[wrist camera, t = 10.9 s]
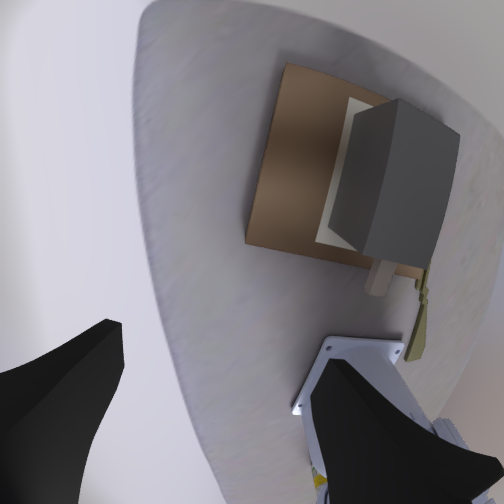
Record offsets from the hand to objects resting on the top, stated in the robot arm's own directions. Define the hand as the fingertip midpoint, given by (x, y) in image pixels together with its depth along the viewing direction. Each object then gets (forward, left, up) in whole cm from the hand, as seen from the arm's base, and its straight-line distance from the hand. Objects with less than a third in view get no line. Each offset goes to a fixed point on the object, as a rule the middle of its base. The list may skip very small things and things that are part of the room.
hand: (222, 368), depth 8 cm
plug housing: (+8, -7, -8) cm, 13 cm away
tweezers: (0, -16, -10) cm, 19 cm away
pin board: (+8, -7, -9) cm, 14 cm away
